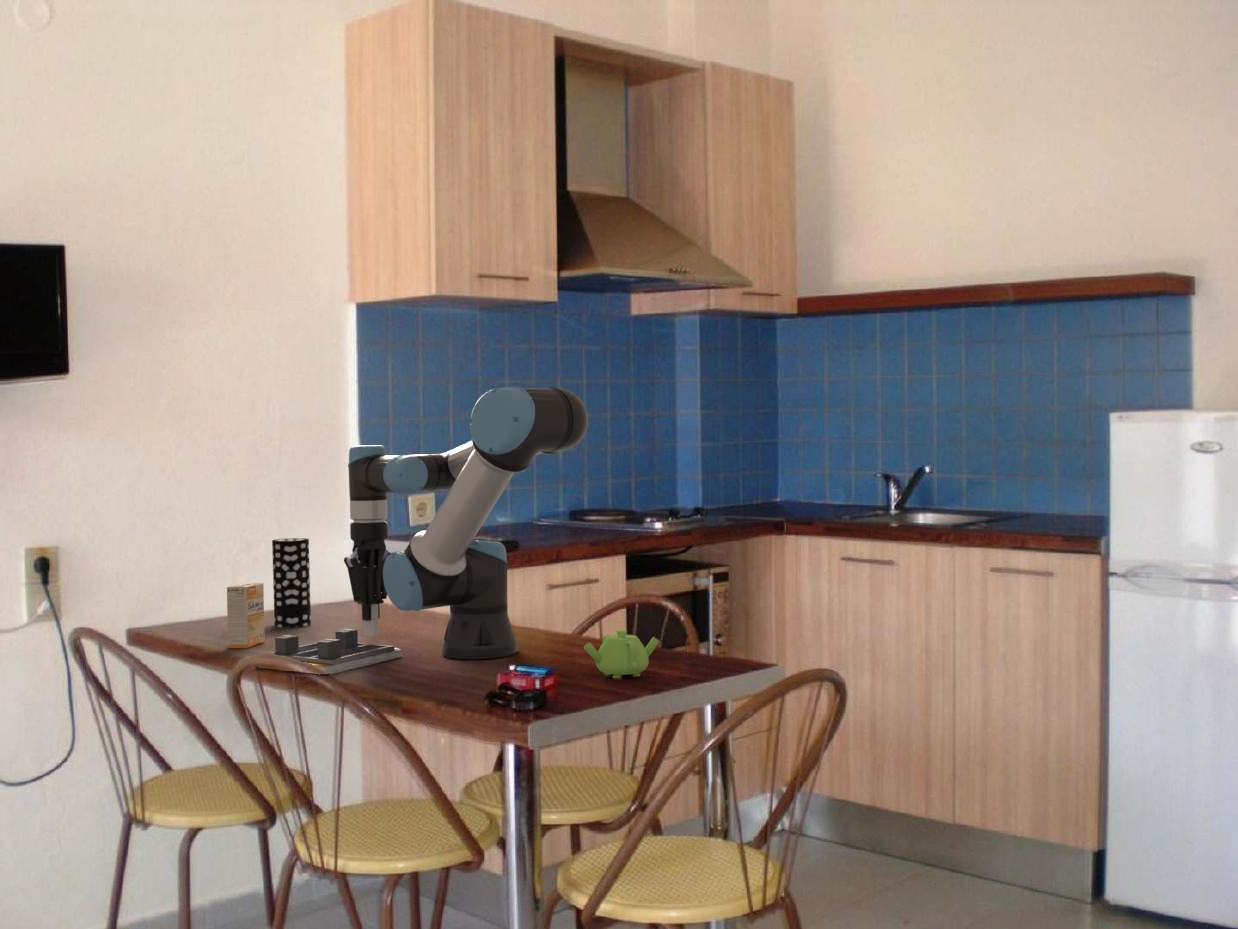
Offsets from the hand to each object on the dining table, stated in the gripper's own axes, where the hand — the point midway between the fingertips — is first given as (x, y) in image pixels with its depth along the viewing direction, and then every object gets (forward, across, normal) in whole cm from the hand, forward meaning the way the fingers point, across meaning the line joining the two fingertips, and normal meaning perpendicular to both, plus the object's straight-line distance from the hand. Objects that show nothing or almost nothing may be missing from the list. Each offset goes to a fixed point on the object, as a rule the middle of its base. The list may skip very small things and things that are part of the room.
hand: (371, 635), depth 283 cm
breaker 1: (+2, +19, -5) cm, 19 cm away
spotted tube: (+4, -21, -43) cm, 48 cm away
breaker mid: (+2, +7, 0) cm, 8 cm away
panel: (+3, +12, 0) cm, 13 cm away
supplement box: (+4, +5, -31) cm, 31 cm away
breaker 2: (+2, +18, +6) cm, 19 cm away
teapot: (+4, -1, +59) cm, 59 cm away
